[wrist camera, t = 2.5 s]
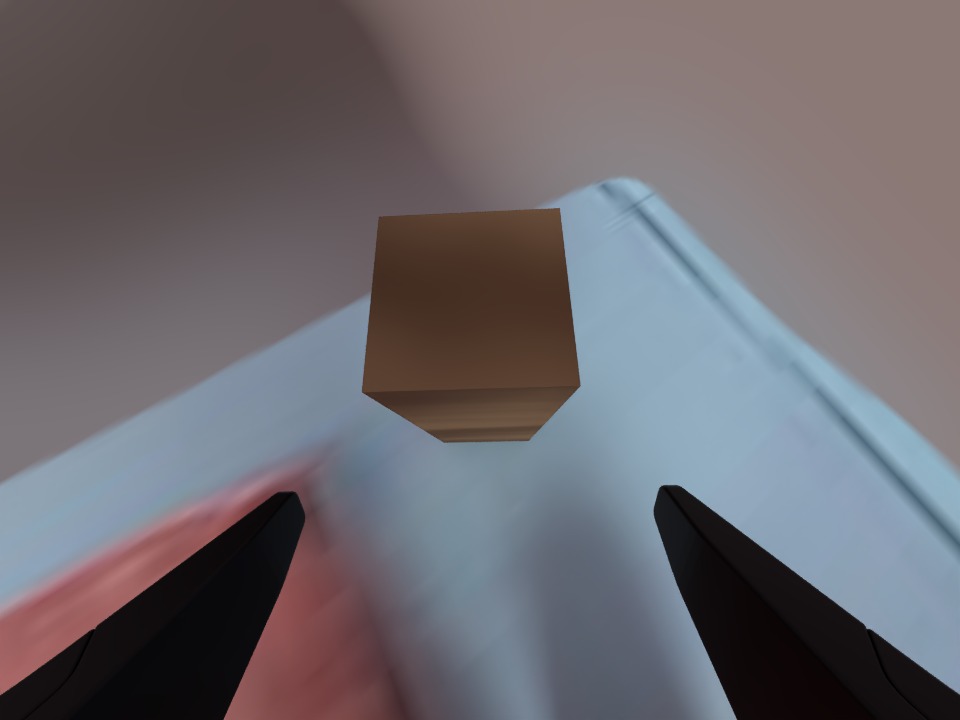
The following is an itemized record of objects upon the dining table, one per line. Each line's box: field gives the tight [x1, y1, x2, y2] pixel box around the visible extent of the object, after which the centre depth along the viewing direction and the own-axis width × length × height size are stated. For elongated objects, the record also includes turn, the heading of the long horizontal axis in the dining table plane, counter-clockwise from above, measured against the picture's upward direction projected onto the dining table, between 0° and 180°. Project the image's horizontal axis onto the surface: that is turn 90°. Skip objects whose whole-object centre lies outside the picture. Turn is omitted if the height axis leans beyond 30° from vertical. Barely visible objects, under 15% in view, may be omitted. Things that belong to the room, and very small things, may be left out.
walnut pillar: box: [362, 208, 580, 443], centre depth 15 cm, size 5×5×13 cm
